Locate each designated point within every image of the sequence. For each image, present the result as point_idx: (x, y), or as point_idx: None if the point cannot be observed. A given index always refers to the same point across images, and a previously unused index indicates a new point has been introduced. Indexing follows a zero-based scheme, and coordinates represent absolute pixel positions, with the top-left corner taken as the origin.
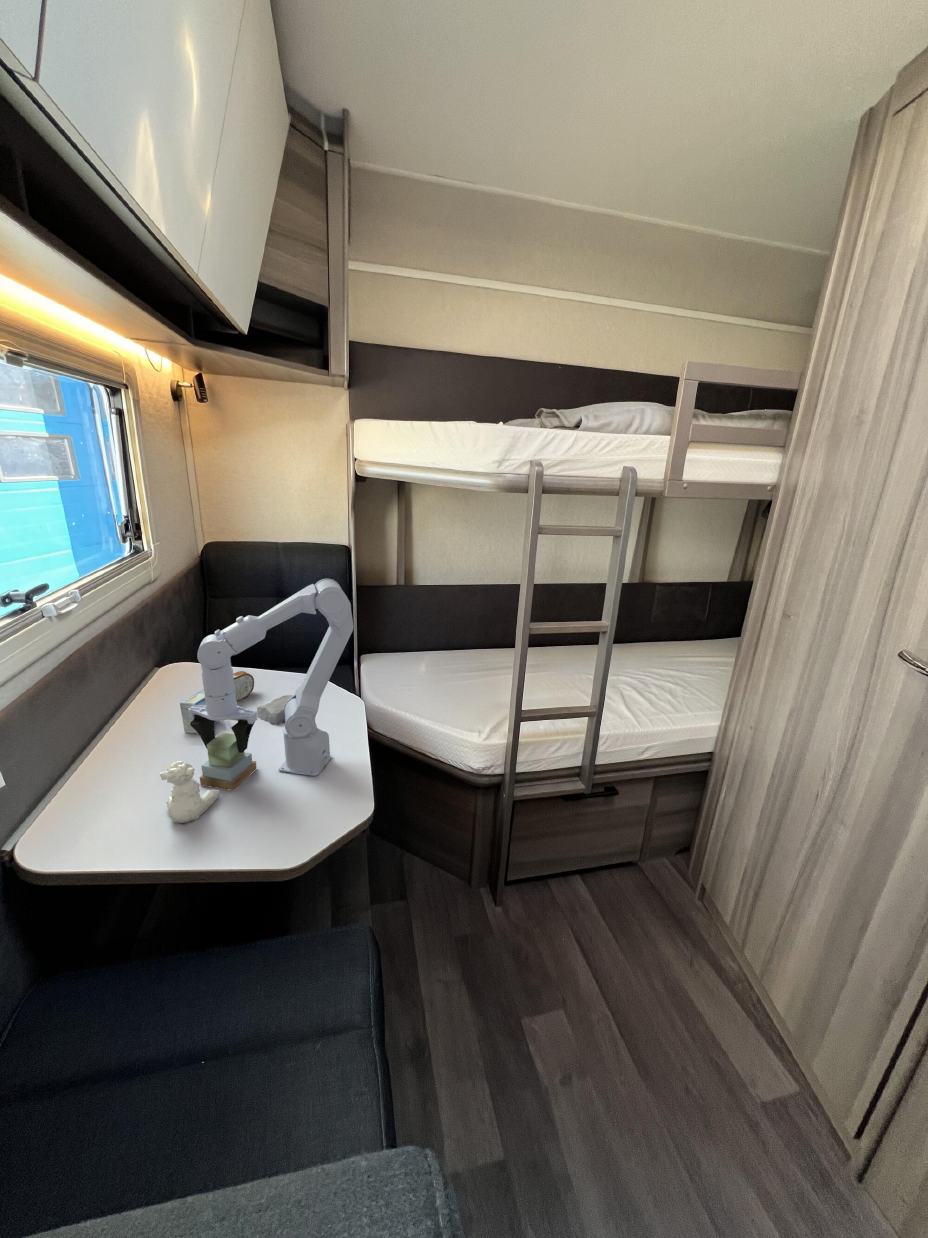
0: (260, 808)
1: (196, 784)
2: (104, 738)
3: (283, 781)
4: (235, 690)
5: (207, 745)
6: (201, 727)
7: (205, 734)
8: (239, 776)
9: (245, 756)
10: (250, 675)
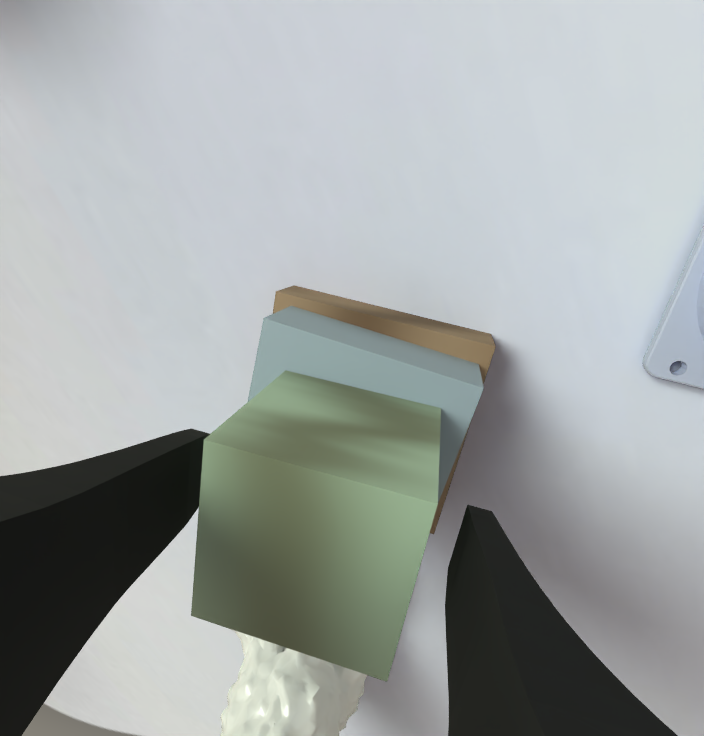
0: (602, 634)
1: None
2: None
3: (689, 461)
4: None
5: (200, 612)
6: (13, 731)
7: (105, 598)
8: (447, 490)
9: (452, 423)
10: None
